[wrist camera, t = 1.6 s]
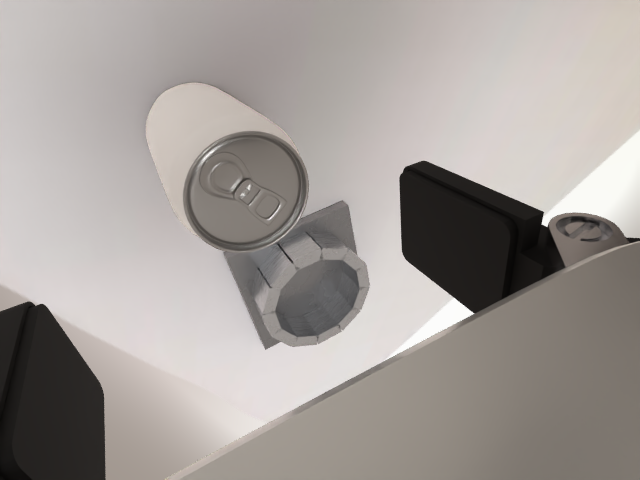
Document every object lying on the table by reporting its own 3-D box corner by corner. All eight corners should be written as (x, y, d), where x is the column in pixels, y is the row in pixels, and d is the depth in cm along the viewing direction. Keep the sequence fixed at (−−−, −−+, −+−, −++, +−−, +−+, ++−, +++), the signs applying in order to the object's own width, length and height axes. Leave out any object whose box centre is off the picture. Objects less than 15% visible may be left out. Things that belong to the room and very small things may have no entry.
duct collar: (342, 200, 34) (366, 219, 31) (359, 292, 41) (381, 315, 37) (223, 252, 31) (237, 278, 28) (262, 342, 38) (276, 372, 35)
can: (184, 57, 24) (238, 84, 15) (261, 124, 28) (343, 178, 19) (123, 141, 25) (137, 218, 15) (207, 195, 29) (259, 282, 19)
